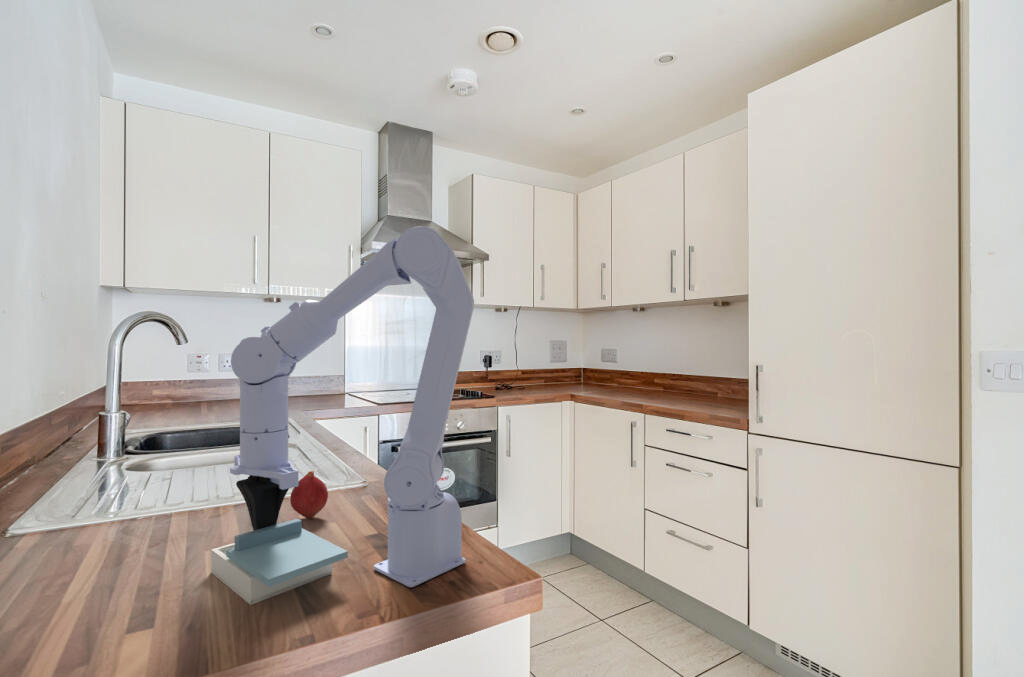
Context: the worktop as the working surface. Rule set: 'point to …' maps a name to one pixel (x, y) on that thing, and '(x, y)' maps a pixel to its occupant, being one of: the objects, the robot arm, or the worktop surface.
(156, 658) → the worktop surface
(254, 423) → the robot arm
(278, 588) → the box
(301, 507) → the onion
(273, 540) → the lid
